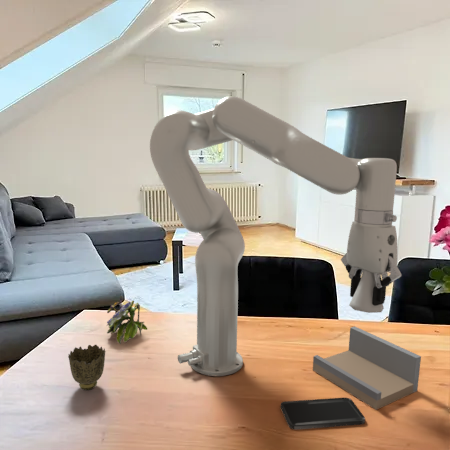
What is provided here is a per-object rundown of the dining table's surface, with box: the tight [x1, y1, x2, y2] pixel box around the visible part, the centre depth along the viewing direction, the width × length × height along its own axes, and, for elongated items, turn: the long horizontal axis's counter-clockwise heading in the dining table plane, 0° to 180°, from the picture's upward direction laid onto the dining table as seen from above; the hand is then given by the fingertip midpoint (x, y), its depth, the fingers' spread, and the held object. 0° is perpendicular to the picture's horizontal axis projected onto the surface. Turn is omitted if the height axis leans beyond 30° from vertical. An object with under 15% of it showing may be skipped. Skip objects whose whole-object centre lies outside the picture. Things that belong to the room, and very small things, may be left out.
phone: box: [280, 397, 366, 430], centre depth 83 cm, size 8×1×15 cm
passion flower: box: [106, 300, 148, 345], centre depth 116 cm, size 11×11×12 cm
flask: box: [348, 270, 385, 314], centre depth 91 cm, size 7×7×10 cm
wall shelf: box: [312, 325, 422, 410], centre depth 95 cm, size 14×18×8 cm
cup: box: [68, 344, 106, 391], centre depth 90 cm, size 8×7×8 cm
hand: (366, 299), depth 92 cm, fingers closed on flask, 5 cm apart
